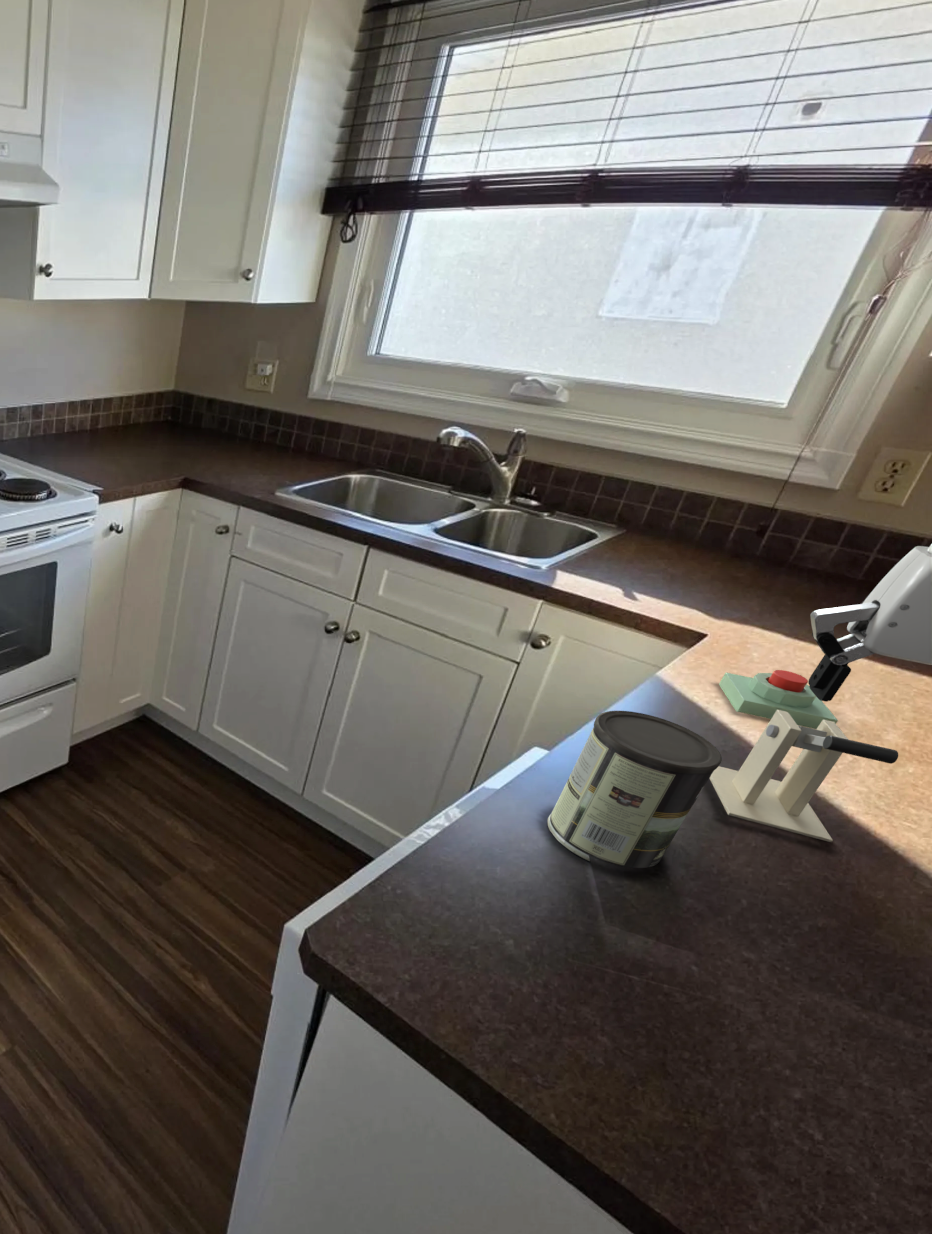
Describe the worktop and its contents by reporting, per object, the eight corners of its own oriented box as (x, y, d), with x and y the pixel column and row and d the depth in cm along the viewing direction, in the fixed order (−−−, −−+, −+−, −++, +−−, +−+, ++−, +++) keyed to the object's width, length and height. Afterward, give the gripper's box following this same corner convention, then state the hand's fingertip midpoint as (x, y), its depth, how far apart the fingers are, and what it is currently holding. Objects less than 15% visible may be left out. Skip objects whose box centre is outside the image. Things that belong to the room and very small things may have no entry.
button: (796, 684, 111) (802, 673, 110) (805, 696, 108) (812, 685, 107) (763, 677, 112) (770, 667, 112) (772, 689, 110) (778, 678, 109)
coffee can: (638, 823, 89) (696, 722, 82) (674, 886, 80) (742, 778, 74) (535, 800, 92) (583, 701, 85) (559, 858, 84) (614, 753, 77)
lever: (894, 769, 77) (902, 746, 77) (827, 754, 79) (835, 731, 79) (822, 753, 88) (829, 733, 88) (765, 740, 90) (772, 720, 90)
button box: (805, 702, 114) (819, 679, 112) (829, 733, 106) (845, 709, 105) (718, 684, 118) (731, 661, 116) (736, 713, 111) (750, 689, 109)
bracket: (827, 848, 86) (890, 763, 81) (724, 820, 90) (777, 737, 84) (791, 792, 95) (845, 712, 89) (699, 769, 98) (745, 691, 93)
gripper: (1115, 555, 68) (985, 716, 76) (851, 517, 75) (758, 668, 83) (1179, 585, 62) (1030, 757, 70) (886, 541, 69) (782, 701, 77)
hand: (883, 708), depth 76 cm, fingers open, 9 cm apart
